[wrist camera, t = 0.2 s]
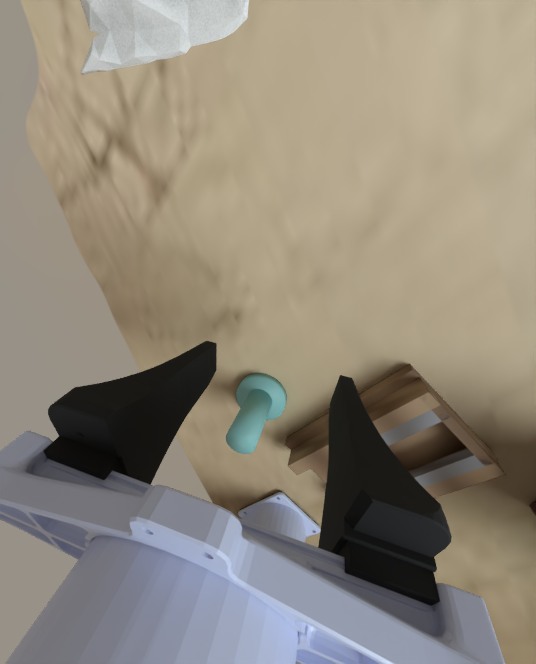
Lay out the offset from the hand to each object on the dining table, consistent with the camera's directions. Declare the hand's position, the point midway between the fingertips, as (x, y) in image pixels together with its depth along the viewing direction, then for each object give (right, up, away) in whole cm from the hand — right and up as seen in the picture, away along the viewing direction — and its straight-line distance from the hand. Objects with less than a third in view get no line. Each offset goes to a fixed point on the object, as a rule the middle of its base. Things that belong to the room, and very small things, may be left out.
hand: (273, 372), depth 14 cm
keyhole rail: (+11, -10, +12) cm, 19 cm away
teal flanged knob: (-1, -5, +14) cm, 15 cm away
